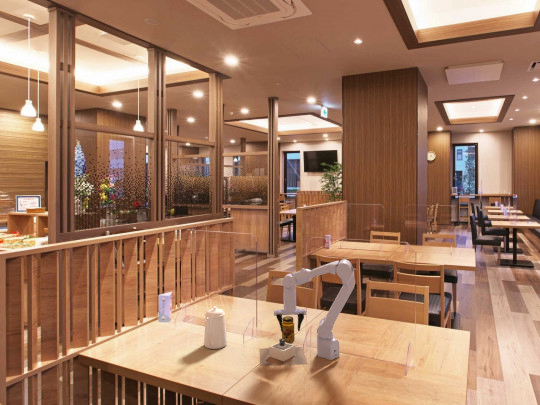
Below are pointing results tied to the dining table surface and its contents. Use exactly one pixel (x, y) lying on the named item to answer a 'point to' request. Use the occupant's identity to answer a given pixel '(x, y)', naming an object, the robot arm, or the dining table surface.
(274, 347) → the press housing
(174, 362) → the dining table surface
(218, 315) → the coffeepot
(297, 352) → the board
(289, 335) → the condiment
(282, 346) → the plunger
